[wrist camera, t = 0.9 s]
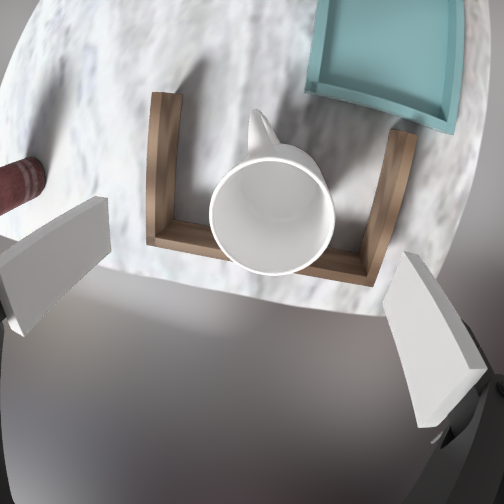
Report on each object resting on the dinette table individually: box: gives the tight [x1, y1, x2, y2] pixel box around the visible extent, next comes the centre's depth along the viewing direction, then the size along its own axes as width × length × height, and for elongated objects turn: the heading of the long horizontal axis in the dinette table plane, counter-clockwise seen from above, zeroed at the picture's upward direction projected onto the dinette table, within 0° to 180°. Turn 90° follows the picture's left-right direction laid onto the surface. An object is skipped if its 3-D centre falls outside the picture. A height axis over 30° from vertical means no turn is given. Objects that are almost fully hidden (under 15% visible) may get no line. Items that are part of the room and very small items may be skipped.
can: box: [0, 157, 45, 216], centre depth 26 cm, size 6×6×14 cm
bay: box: [146, 92, 418, 287], centre depth 27 cm, size 15×23×5 cm, turn 82°
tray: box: [304, 0, 464, 135], centre depth 19 cm, size 18×15×3 cm
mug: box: [209, 109, 335, 276], centre depth 24 cm, size 9×12×11 cm
